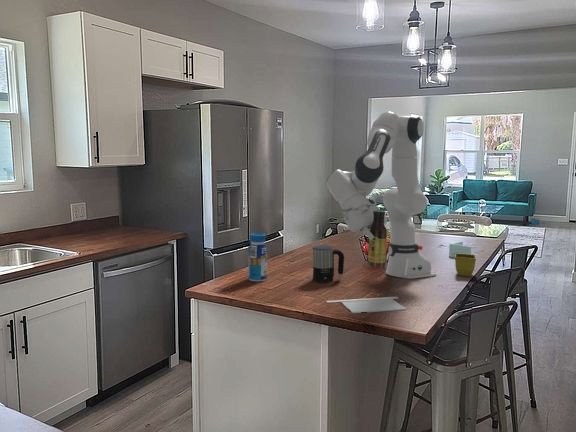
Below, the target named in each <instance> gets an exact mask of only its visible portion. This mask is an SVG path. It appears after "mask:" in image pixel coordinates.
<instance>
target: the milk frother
mask: <svg viewBox="0 0 576 432" xmlns="http://www.w3.org/2000/svg"><path fill="white" fill-rule="evenodd" d="M311 248H312V257H313V258H312V266H313V267H312V268H313V269H312V281H313V282H315V283H321V284H324V283H325V284H326V283H332V282H334V280H335V279H334V276H335V275H334V274H335V267H334V266H335V264H334V263H335V259H334V258H335V257H334V255H337V256H338V262H337V264H338V265H337V267H338V268H337V273H338V274H339V275H343V274H344V267H345V266H344V265H345V264H344V263H345V255H344V252H342V251H341V250H339V249H335V248H334V246H332V245H326V244H325V245H324V244H323V245H322V244H321V245H320V244H319V245H313V246H312V247H311Z"/></svg>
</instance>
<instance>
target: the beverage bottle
mask: <svg viewBox="0 0 576 432" xmlns="http://www.w3.org/2000/svg"><path fill="white" fill-rule="evenodd" d="M249 242H250V244H249V246H248V248H247V251H248V254H247V259H248V277H247V279H248V280H249V281H250V282H264V281H266V280H268V275H267V274H268V253H267V251H268V247H267V246H266V244H265V243H266V233H261V232H256V233H255V232H253V233H250V234H249Z"/></svg>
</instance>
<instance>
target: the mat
mask: <svg viewBox="0 0 576 432" xmlns="http://www.w3.org/2000/svg"><path fill="white" fill-rule="evenodd" d="M341 304H342V305H343V306H344V307H345V308H346V309H347V310H348V309H349V310H350V311H351V312H350V313H351V314H362V313H361V312H367V313H377V312H378V313H379V312H393V311H407V308H406V307H405V306H403V305H401V303H398V302H397V301H395V299H384V300H368V301H352V302H341ZM349 310H348V311H349Z"/></svg>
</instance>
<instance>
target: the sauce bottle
mask: <svg viewBox="0 0 576 432" xmlns="http://www.w3.org/2000/svg"><path fill="white" fill-rule="evenodd" d="M373 215H374V219H373V224H372V227H371V229H369V231H370V232H371V233H374V235H375V238H374V239H372V240H370V239H369V238H368V251H367V252H368V253H367V261H368V263H367V265H368V266H370V267H372V268H384V267H385V266H386V260H387V258H386V257H387V243H388V234H387V233H388V230H387V227H386V226H385V225H386V224H385V225H384V216H385V217H386V211H385V210H381V209H380V210H375V211H373Z"/></svg>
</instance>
